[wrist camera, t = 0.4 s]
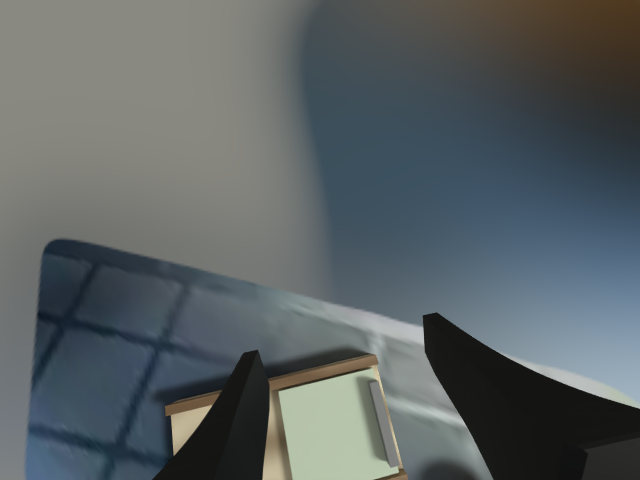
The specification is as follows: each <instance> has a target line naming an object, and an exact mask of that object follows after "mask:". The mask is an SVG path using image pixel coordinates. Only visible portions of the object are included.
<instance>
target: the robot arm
mask: <svg viewBox="0 0 640 480" xmlns="http://www.w3.org/2000/svg"><path fill="white" fill-rule="evenodd" d="M423 327H424V344H425V353H426V355H427V358H428V360H429V362H430V364H431V367H432V369H433V371H434V373H435V375H436V376H437V378H438V380H439V382H440V383H441V385H442V386H443V388H444V390H445V391H446V393H447V395H448V396H449V398H450V400H451V401H452V403H453V404H454V406H455V408H456V409H457V411H458V413H459V414H460V416H461V417H462V419H463V421H464V422H465V424H466V426H467V428H468V429H469V431H470V433H471V435H472V437H473V439H474V441H475V443H476V445H477V447H478V449H479V451H480V453H481V455H482V457H483V459H484V461H485V463H486V465H487V467H488V469H489V471H490V473H491V475H492V477H493V479H494V480H640V409H638V408H635V407H632V406H628V405H625V404H621V403H618V402H615V401H611V400H608V399H605V398H602V397H599V396H596V395H593V394H590V393H587V392H585V391H582V390H579V389H576V388H574V387H571V386H568V385H566V384H563V383H561V382H558V381H556V380H553V379H551V378H549V377H546V376H544V375H542V374H539V373H537V372H535V371H533V370H531V369H529V368H527V367H525V366H523V365H521V364H519V363H517V362H515V361H513V360H511V359H509V358H507V357H505V356H503V355H501V354H500V353H498V352H496V351H495V350H493V349H491V348H489V347H488V346H486V345H484V344H483V343H481V342H480V341H478V340H476V339H475V338H473V337H472V336H470V335H469V334H467V333H466V332H464V331H463V330H461V329H460V328H458V327H457V326H455V325H454V324H453V323H451V322H450V321H448V320H447V319H445V318H444V317H442V316H441V315H440V314H438V313H432V314H427V315H423ZM269 412H270V385H269V382H268V379H267V376H266V373H265V370H264V367H263V364H262V361H261V358H260V355H259V352H258V350H255V351H250V352H245V353H243V355H242V356H241V358H240V360H239V362H238V364H237V365H236V367H235V369H234V371H233V373H232V374H231V376H230V378H229V380H228V381H227V383H226V385H225V386H224V388H223V389H222V391H221V393H220V394H219V396H218V398H217V399H216V401H215V402H214V404H213V405H212V407H211V408H210V410H209V411H208V413H207V414H206V416H205V417H204V419H203V420H202V421H201V423H200V424H199V426H198V427H197V428H196V430H195V431H194V432H193V434H192V435H191V436H190V437H189V439H188V440H187V441H186V442H185V444H184V445H183V446H182V447H181V448H180V450H179V451H178V452H177V453H176V454H175V455H174V456H173V458H172V459H171V460H170V461H169V462H168V463H167V464H166V466H165V467H164V468H163V469H162V470H161V471H160V472H159V473H158V474H157V475H156V476H155V477H154V478H153V479H152V480H263V467H264V458H265V449H266V440H267V431H268V421H269Z"/></svg>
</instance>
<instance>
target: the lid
mask: <svg viewBox="0 0 640 480" xmlns="http://www.w3.org/2000/svg"><path fill="white" fill-rule="evenodd" d="M278 392H279V398H280V404H281V410H282V417H283V423H284V429H285V435H286V441H287V447H288V453H289V459H290V465H291V471H292V478H293V480H374V479H378V478H381V477H385V476H388V475H392V474H395V473H399V470H398V466H400V463H399V459H398V455H397V451H396V447H395V444H394V440H393V436H392V432H391V428H390V424H389V420H388V416H387V412H386V408H385V404H384V400H383V396H382V393H381V389H380V385H379V381H377V380H376V379H375V375H374V371H373V368H371V367H370V368H366V369H362V370H358V371H354V372H350V373H346V374H342V375H338V376H334V377H330V378H326V379H322V380H317V381H313V382H309V383H305V384H301V385H297V386H293V387H289V388H285V389H281V390H279V391H278Z"/></svg>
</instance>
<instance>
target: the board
mask: <svg viewBox="0 0 640 480" xmlns="http://www.w3.org/2000/svg"><path fill="white" fill-rule="evenodd" d="M377 364H378V361H377V357H376V355H374V354H367V355H363V356H359V357H355V358H351V359H347V360H342V361H338V362H334V363H330V364H326V365H322V366H318V367H314V368H309V369H305V370H301V371H297V372H293V373H289V374H285V375H280V376H276V377H272V378H268V382H269V385H270V412H269V421H268V431H267V440H266V449H265V458H264V467H263V480H293V478H292V471H291V465H290V459H289V453H288V447H287V441H286V435H285V429H284V423H283V417H282V410H281V404H280V398H279V392H278V391H279V390H281V389H285V388H289V387H293V386H297V385H301V384H305V383H309V382H313V381H317V380H322V379H326V378H330V377H334V376H338V375H342V374H346V373H350V372H354V371H358V370H362V369H366V368H370V367H371V368H373V371H374V375H375V379H376V380H377V381H379V385H380V389H381V393H382V396H383V400H384V404H385V408H386V412H387V416H388V420H389V424H390V428H391V432H392V436H393V440H394V444H395V447H396V451H397V455H398V459H399V463H400V466H398V470H399V473H395V474H392V475H388V476H385V477H381V478H378V479H374V480H408V476H407V473H406V472H405V471H404V469H403V466H402V462H401V458H400V454H399V450H398V447H397V443H396V439H395V435H394V431H393V427H392V423H391V419H390V415H389V412H388V408H387V404H386V400H385V396H384V392H383V388H382V384H381V380H380V376H379V373H378V369H377ZM221 391H222V390H218V391H214V392H210V393H206V394H202V395H198V396H194V397H189V398H185V399H181V400H177V401H175V402H173V403H171V404H169V405H167V406H165V412H166V416H169V415H171V422H172V437H173V451H174V455H175V454H176V453H177V452H178V451H179V450H180V448H181V447H182V446H183V445H184V444H185V442H186V441H187V440H188V439H189V437H190V436H191V435H192V434H193V432H194V431H195V430H196V428H197V427H198V426H199V424H200V423H201V421H202V420H203V419H204V417H205V416H206V414H207V413H208V411H209V410H210V408H211V407H212V405H213V404H214V402H215V401H216V399H217V398H218V396H219V394H220V393H221Z"/></svg>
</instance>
